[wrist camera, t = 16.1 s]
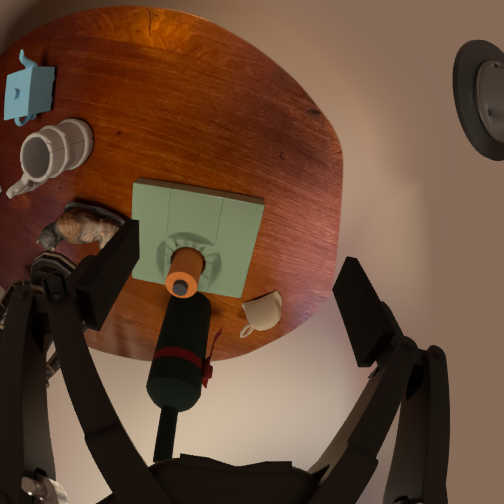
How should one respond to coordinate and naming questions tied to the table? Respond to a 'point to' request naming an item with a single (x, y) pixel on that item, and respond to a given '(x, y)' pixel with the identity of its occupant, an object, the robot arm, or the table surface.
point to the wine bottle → (179, 365)
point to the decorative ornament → (262, 313)
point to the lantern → (38, 271)
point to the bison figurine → (81, 226)
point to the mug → (52, 153)
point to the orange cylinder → (184, 272)
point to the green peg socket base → (196, 232)
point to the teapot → (28, 91)
